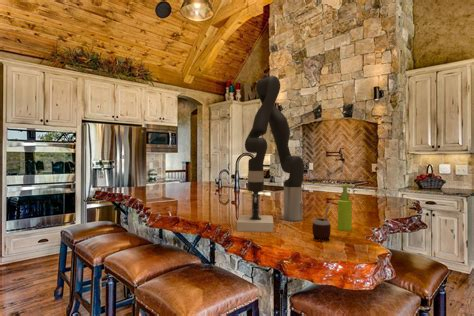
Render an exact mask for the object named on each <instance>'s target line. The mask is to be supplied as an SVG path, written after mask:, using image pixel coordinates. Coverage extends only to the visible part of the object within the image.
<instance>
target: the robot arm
mask: <svg viewBox="0 0 474 316" xmlns="http://www.w3.org/2000/svg"><path fill="white" fill-rule="evenodd" d="M255 90H256V94H257V95H258V98H259V101H260V103H261V105H260V107H259V109H258V110H257V112H256V113H255V114H254V115H255V116H254V118H253V123H252V127H251V129H250V131H249V133H248V135H247V137H246V138H245V141H244V149H245V150H246V152H247V153H250V154H252V153H253V154H255V156H254V157H251V158H249V159H248V161H247V163H248V164H247V165H248V166H247V167H248V169H247V170H248V171H247V191H249V192H252V194H251V197H250V199H251V206H252V205H253V208H252V207H251V210H252V209H253V218H254V219H257V218H258V205H259V206H260V199H261V194H259V192H264V190H265V180H264V179H265V176H264V173H265V172H264V162H265V157H266V153H267V149H268V142H267V139H266V138H264V137H261V136H265V135H266V134H267V132H268V127H270V131H271V134H272V136H273V140H274V144H275V147H276V149H277V150H276V151H277V154H278V159H279V164H280V167H281V170H282V172H284V173H286V174H289V176H288V179H286V180H284V182H283V220H285V221H290V222H298V221H299V222H300V221H303V201H302V196H303V194H302V193H303V192H302V190H303V189H302V187H303V182H304V176H305V175H304V172H305V171H304V170H305V163H304V160H303V158H302V157H301V156H298V155H292V154H291V151H290V146H289V140H290V136H291V129H290V125H289V123H288V118H287V117H286V116H285V115H284V113H283V112H282V111H281V110H280V109H279V108H278V107H277V106H276V104H275V103H276V101H277V100H278V99H277V98H278V96H279V93H280V91H281V81H280V79H279V78H278V77H277V76H276V75H269V76H266V77H264V78H261V79H259V80H258V81H256V85H255ZM254 205H257V207H254Z"/></svg>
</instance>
